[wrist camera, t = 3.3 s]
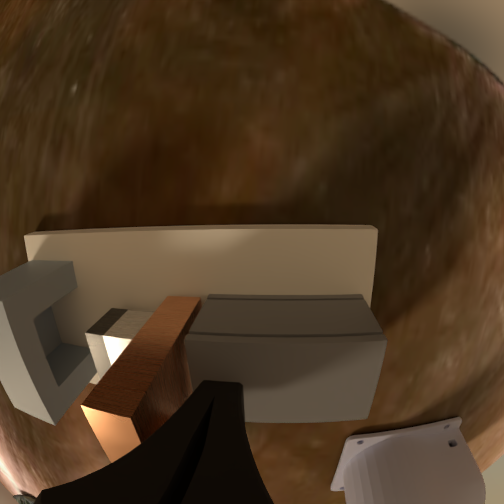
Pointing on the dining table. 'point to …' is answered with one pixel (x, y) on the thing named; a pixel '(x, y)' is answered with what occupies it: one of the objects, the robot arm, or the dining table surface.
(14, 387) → the socket block
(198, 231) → the cream rectangular panel
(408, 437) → the robot arm
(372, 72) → the dining table surface
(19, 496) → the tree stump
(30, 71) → the dining table surface
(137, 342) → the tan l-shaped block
